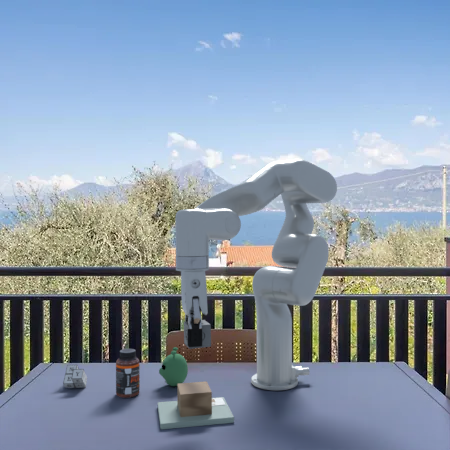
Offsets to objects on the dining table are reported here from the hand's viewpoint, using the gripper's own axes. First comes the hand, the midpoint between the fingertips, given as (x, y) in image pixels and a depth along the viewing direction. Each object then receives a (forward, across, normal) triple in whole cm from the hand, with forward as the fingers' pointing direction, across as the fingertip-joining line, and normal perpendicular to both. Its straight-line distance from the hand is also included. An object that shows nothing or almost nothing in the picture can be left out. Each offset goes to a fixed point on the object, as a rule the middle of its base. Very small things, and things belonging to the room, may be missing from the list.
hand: (193, 342), depth 108 cm
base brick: (+15, 0, 0) cm, 15 cm away
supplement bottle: (+17, +16, +15) cm, 28 cm away
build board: (+17, 0, 0) cm, 17 cm away
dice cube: (+1, 0, -1) cm, 1 cm away
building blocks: (+17, +25, +28) cm, 41 cm away
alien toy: (+17, +20, +3) cm, 26 cm away
